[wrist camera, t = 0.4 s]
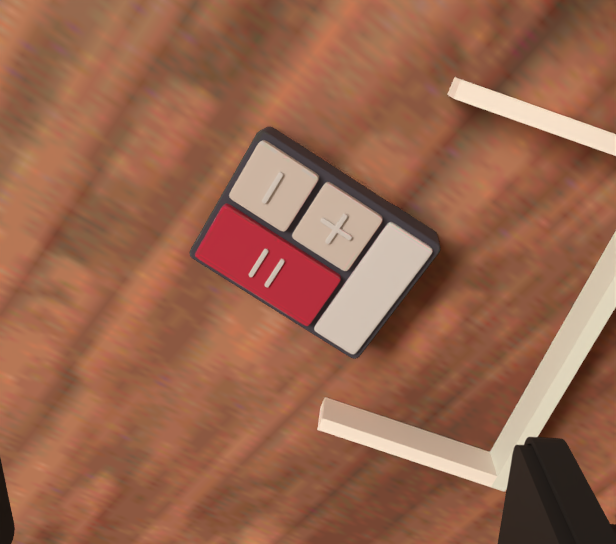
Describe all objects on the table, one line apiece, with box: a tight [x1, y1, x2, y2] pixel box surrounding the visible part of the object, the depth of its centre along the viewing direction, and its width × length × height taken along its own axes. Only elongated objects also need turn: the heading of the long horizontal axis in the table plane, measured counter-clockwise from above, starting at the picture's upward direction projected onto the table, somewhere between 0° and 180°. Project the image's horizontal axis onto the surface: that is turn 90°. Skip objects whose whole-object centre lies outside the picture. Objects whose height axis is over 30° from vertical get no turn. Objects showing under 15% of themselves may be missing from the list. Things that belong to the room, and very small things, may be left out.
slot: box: [318, 77, 616, 492], centre depth 43 cm, size 28×16×3 cm, turn 162°
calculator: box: [190, 127, 440, 359], centre depth 43 cm, size 11×4×15 cm
